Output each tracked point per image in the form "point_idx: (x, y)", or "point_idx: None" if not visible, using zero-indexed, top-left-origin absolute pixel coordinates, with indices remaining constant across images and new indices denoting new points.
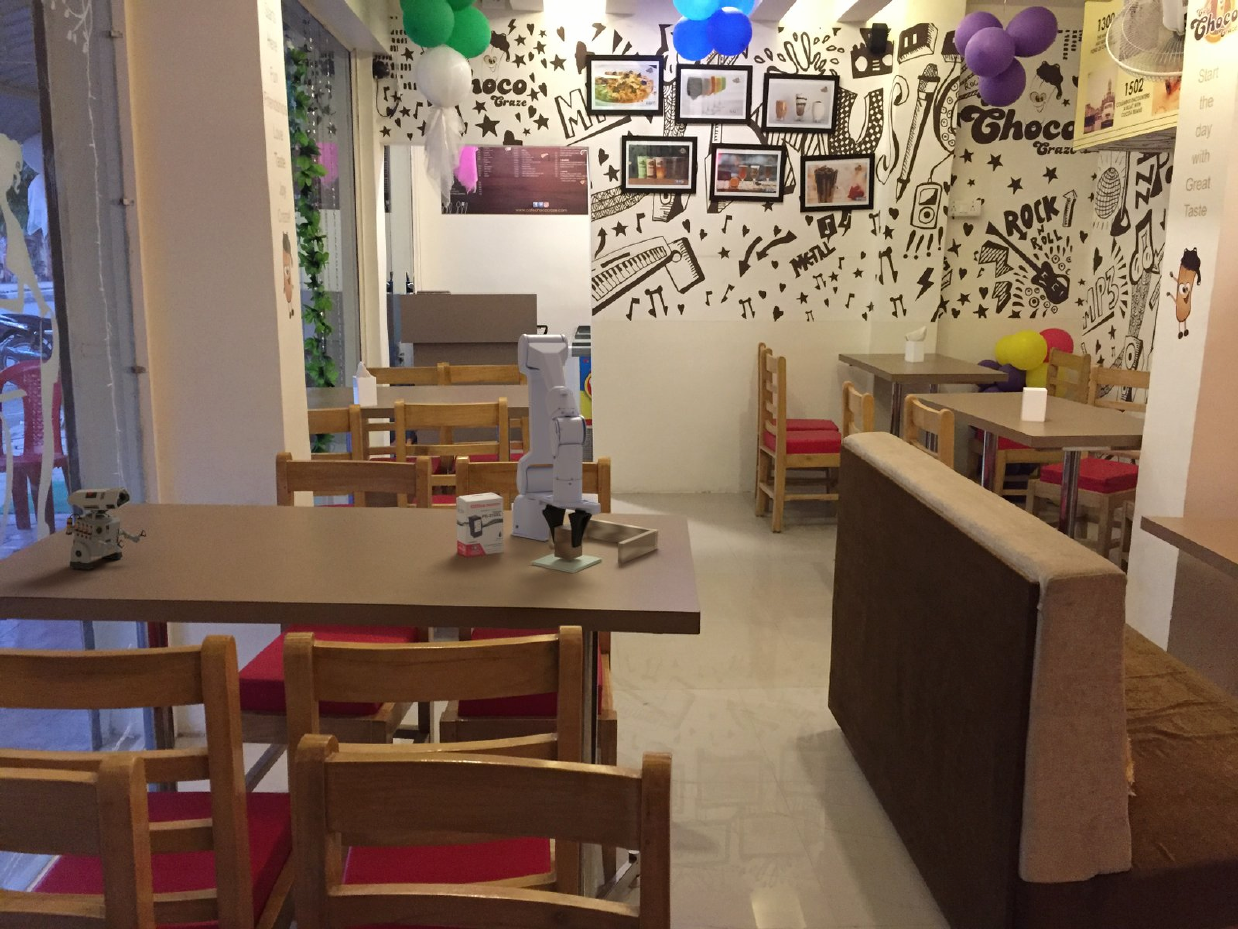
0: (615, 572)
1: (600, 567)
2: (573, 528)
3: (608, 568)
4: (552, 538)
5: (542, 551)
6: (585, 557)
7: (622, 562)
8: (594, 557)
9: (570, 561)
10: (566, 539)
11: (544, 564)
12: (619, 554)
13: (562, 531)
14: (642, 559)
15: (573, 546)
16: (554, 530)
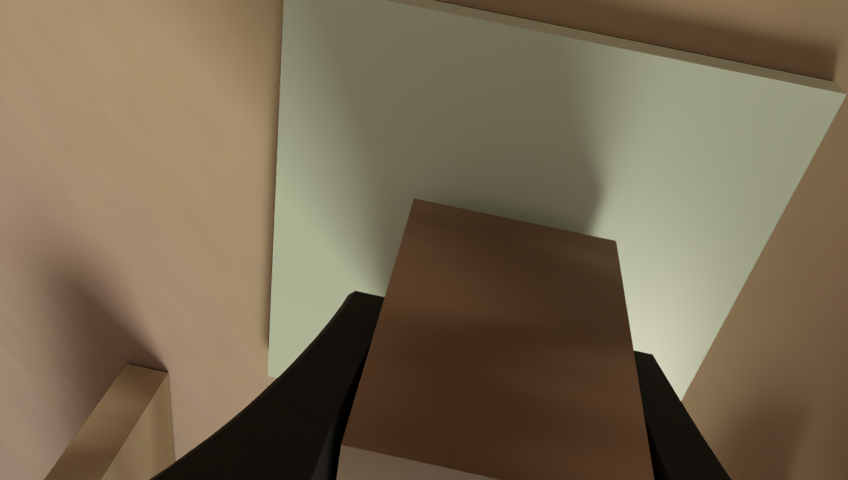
0: (15, 154)
1: (195, 232)
2: (267, 450)
3: (129, 230)
4: (673, 392)
5: (817, 449)
6: None
7: (129, 368)
8: None
9: None
10: (445, 351)
11: (665, 55)
12: (127, 416)
13: (508, 446)
14: None
15: (369, 300)
16: (658, 477)
